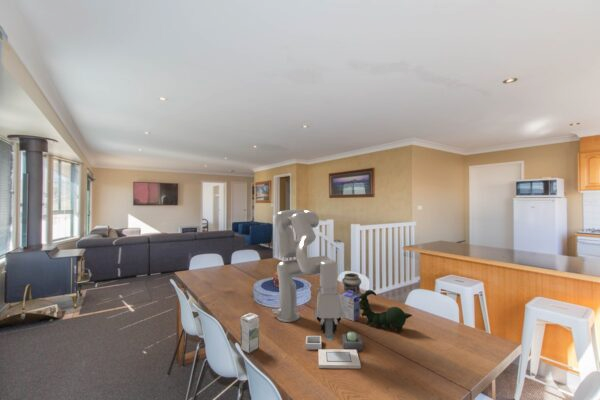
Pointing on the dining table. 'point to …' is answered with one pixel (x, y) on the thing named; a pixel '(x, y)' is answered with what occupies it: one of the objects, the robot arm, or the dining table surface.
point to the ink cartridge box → (350, 305)
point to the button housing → (352, 343)
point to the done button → (351, 336)
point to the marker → (329, 328)
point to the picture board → (338, 358)
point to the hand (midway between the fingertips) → (328, 331)
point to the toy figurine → (383, 314)
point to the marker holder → (313, 345)
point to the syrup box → (249, 332)
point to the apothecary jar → (352, 284)
